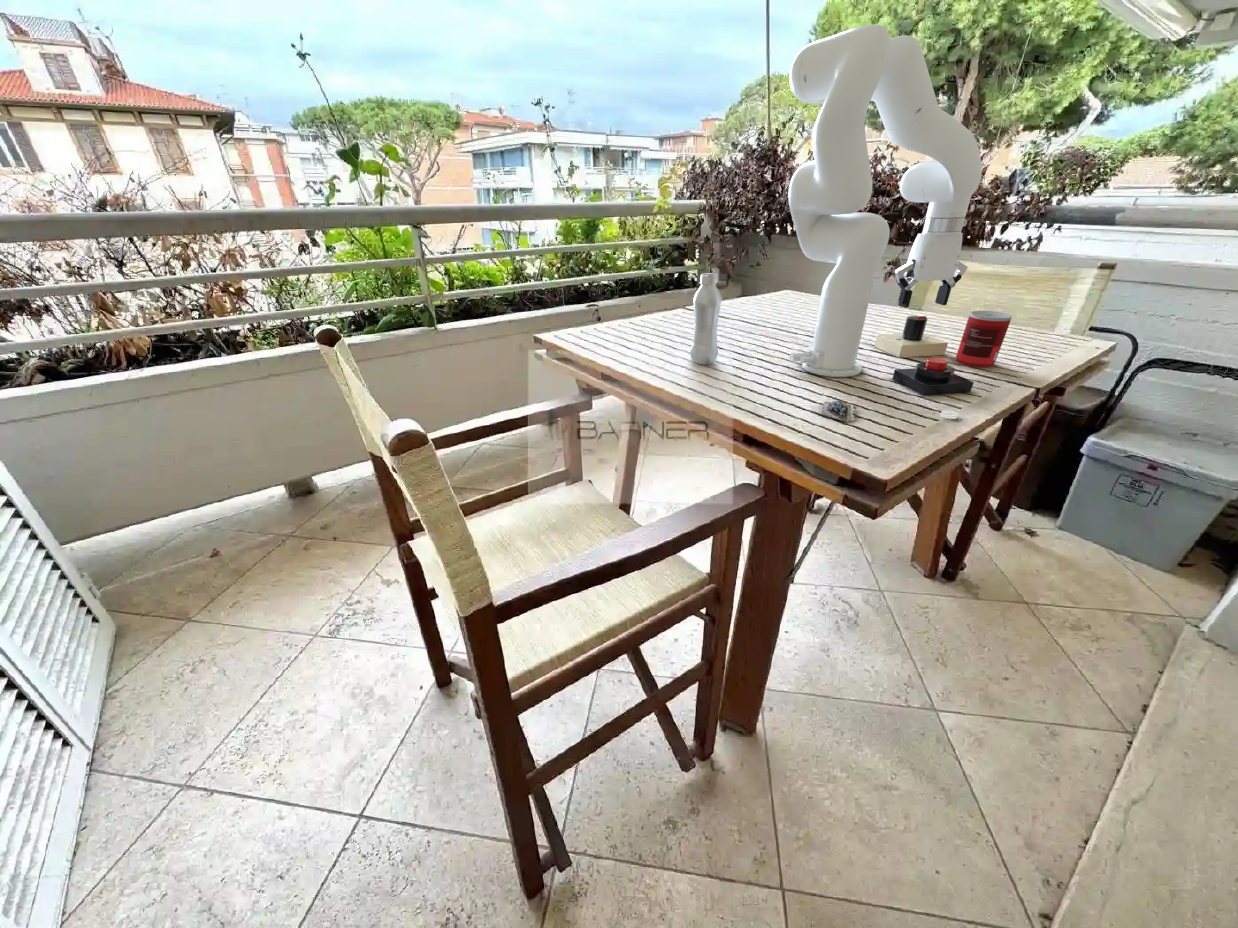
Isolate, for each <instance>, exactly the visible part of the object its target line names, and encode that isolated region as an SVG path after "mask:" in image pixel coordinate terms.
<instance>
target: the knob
mask: <svg viewBox="0 0 1238 928" xmlns="http://www.w3.org/2000/svg"><path fill="white" fill-rule="evenodd" d="M927 323H928V318H927V315H921V316H920V315H919V316H918V315H909V316H906V320H905V324H904V327H903V330H902V333H901V334H902V338H903V339H905V340H911V341H919V340H922V337H923V334H925V330H926V326H927Z"/></svg>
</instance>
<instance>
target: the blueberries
mask: <svg viewBox="0 0 1238 928" xmlns="http://www.w3.org/2000/svg"><path fill="white" fill-rule="evenodd" d="M821 412H822V413H823V415H824V416H825V417H829V418H833V419H836V420H839V421H840V422H841V421H842V422H845V423H849V422H853V421H855V420H856V418H855V417H856V415H854V414H856V412H857V406H855V405H853V404H850V403H847V402H844V401H841V400H833V401H831V402H830V401H826V400H825V401H823V403H822V407H821Z"/></svg>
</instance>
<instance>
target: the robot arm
mask: <svg viewBox="0 0 1238 928" xmlns="http://www.w3.org/2000/svg"><path fill="white" fill-rule="evenodd" d="M788 79H789V86H790V90H791V92H792V94H793V96H794V97H795V98H796V99H797V100H799V101H800V102H802V103H803V104H804V103H805V104H811V105H822V106H821V109H820V111H819V113H818V116H817V117H816V120H815V123H814V126H813V130H812V134H811V148H812V149H811V150H812V154H813V155H812V156H813V160H809V161H807V162H804V163H803V164H801V165H800V166H798V168H797V169H796V170H795V172H794V173H793V175H792V177H791V179H790V182H789V185H788V193H787V194H788V195H787V198H788V200H787V201H788V206H789V211H790V215H791V218H792V222H793V226H794V229H795V233H796V236H797V240H798V243H799V247H800V249H801V251H802V253H803V255H805V257H806V258H808V259H809V260H812V261H816V262H821V263H831V264H835V266H834V267H833V269H832V270H831V272H830V273H829V274H828V276H827V277H826V278H825V281H824V283H823V285H822V289H821V294H820V300H819V307H818V311H817V318H816V323H815V329H814V333H813V334H814V336H813V341H812V346H807V348H806V350H804V351H803V352H791V353H790V354H789V360H790V361H789V362H799V363H800V364H801V368H802V369H803V370H805V371H806V372H809V373H811V374H814V375H818V376H822V377H831V378H849V377H854V376H858V375H859V374H861V373H862V369H863V366H862V364H861V363H859V362H858V361H857V358H858V353H859V349H860V343H861V340H862V335H863V329H864V325H865V321H866V316H867V313H868V307H869V303H870V298H871V295H872V290H873V286H874V282H875V278H876V274H877V271H878V268H879V265H880V263H881V260H882V258H883V256H884V254H885V251H886V249H887V246H888V244H889V240H890V234H891V233H890V231H891V230H890V226H889V223H888V222H887V220H886V219H885V218H884V217H883V216H881V215H879V214H877V213H872V212H860V211H861V210H862V209H864V208H865V207H866V206H867V205H868V203H869V202H870V200H871V197H872V194H873V178H872V170H871V169H872V168H871V163H870V156H869V150H868V144H867V137H866V135H867V134H866V116H867V111H868V109H869V106H870V103H871V102H874V104H875V107H876V109H877V112H878V113H879V116H880V119H881V121H882V124H883V127H884V131H885V133H886V134H887V135H886V136H887V138H888V140H889V141H890V142H891V143H892V144H894V145H896V146H897V147H900V148H903V149H905V150H908V151H911V152H915V153H918V154H921V155H924V156H926V157H929V158H931V159H933V160H929V161H922V162H921V161H920V162H919V163H918V162H917V163H915V164H914V165H912V166H910V167H909V168H908V169H907V170H906V171H905V172H904V174H903V175H902V177H901V179H900V183H899V192H900V195H901V197H902V198H903V199H904V200H906V201H907V202H911V203H928V206H927V211H926V213H925V214H926V215H925V219H924V223H923V226H922V231H921V233H917V235H916V237H915V239H914V241H913V244H912V246H911V249H910V252H909V254H908V258H907V261H906V264H904V265H902V266H900V267H898V268H897V269H895V270H894V277H895V279H896V280H895V282H896V283H897V285H898V288H899V289H900V292H899V297H898V302H897V307H900V308H904V309H908V308H909V307H910V303H911V299H912V295H913V289H912V288H913V287H914V286H916V284H917V283H919V282H934V281H940V283H941V285H939V286H938V290H937V293H936V298H935V302H934V303H935V304H937V305H941V306H947V305H948V302H949V298H950V294H951V291H952V288H954V287H956V284H957V283H958V282H959V281H960V280H961V279H962V277H963V275H964V274H965V273H966V271H967V270H968V269H969V268H968V266H967V265H966V264H964V263H963V262H961V261H960V258H961V257H960V256H961V251H962V246H963V245H962V244H963V234H964V233H963V232H962V230H963V227H966V226H967V224H968V220H967V219H966V215H967V213H968V209H969V206H970V203H971V202H970V201H971V199H972V195H974V193H976V191H977V189H978V187H979V185H980V183H981V179H982V173H983V167H982V159H981V154H980V150H979V146H978V142H977V139H976V137H975V136H974V134H973V133H972V132H971V131H970V130H969V129H968V128H967V127H966V126H965V125H963V124H962V123H961V122H960V121H958V120H957V118H955V117H953V116H952V115H951V114H949V113H948V112H946V111H944V110H943V109H941V107H940V106H939V104H938V100H937V97H936V93H935V89H934V86H933V83H932V79H931V75H930V72H929V69H928V66H927V62H926V59H925V55H924V51H923V48H922V45H921V43H920V42H919V40H918V39H917V38H916V37H914V36H913V35H908V34H906V35H905V34H904V35H897V36H893V37H891V36H890V33H889V31H888V29H887V28H886V27H885V26H883V25H881V24H876V23H875V24H874V23H872V24H864V25H861V26H860V25H859V26H857V27H853V28H850V29H847V30H844V31H841V32H839V33H836V34H833V35H829V36H827V37H824V38H821V39H818V40H815V41H812V42H809V43H808V44H806V45H805V46H804V47H802V48H801V49H800V50H799V51H798V53H797V54H796V55H795V57H794V59H793V60H792V63H791V65H790V69H789V78H788Z"/></svg>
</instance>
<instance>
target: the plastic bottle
mask: <svg viewBox="0 0 1238 928" xmlns="http://www.w3.org/2000/svg"><path fill="white" fill-rule="evenodd" d="M699 284H700V286H699V288H698V289H697V291H696V292H695V294H694V297H693V299H692V300H693V302H692V303H693V315H694V321H693V322H694V323H693V324H694V327H693V328H694V329H693V337H692V342H691V346H690V352H689V354H690V359H691V361H692V362H693V363H695V364H698V365H699V364H700V365H710V364H713V363H714V362H715V361H716V360H717V358H718V354H719V349H718V348H719V346H718V323H719V315H720V311H721V307H722V302H723V301H722V300H723V298H722V294H721V292H720V290H719V289H718V287H717V284H718V274H717V273H713V272H711V273H710V272H708V273H707V272H706V273H701V274H700V280H699Z"/></svg>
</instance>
